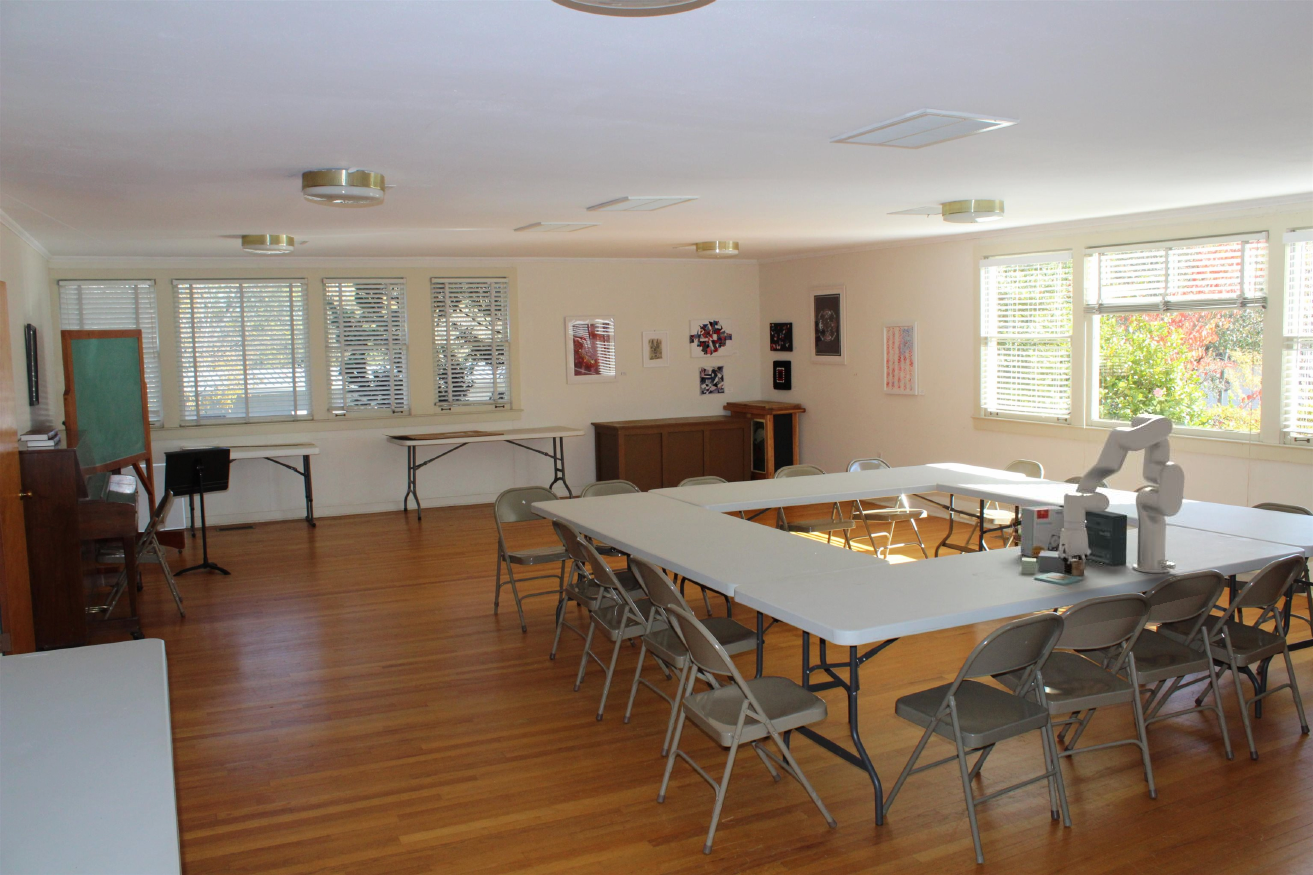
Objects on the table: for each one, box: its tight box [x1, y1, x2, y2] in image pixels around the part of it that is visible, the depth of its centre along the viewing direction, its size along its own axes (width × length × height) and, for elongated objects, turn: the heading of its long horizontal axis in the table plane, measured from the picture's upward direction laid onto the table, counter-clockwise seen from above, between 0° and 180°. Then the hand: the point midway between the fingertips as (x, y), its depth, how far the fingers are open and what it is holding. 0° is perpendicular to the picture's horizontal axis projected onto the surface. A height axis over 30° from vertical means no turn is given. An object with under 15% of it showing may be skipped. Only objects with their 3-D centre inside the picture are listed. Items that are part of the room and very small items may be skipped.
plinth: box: [1038, 550, 1068, 573], centre depth 361 cm, size 10×10×6 cm
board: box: [1033, 571, 1083, 586], centre depth 344 cm, size 12×12×1 cm
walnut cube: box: [1063, 558, 1085, 577], centre depth 352 cm, size 5×5×5 cm
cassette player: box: [1058, 504, 1128, 567], centre depth 376 cm, size 29×7×20 cm, turn 18°
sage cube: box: [1021, 557, 1037, 575], centre depth 357 cm, size 5×5×5 cm
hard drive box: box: [1020, 505, 1064, 558], centre depth 385 cm, size 16×8×20 cm, turn 105°
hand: (1074, 571), depth 352 cm, fingers closed on walnut cube, 5 cm apart
